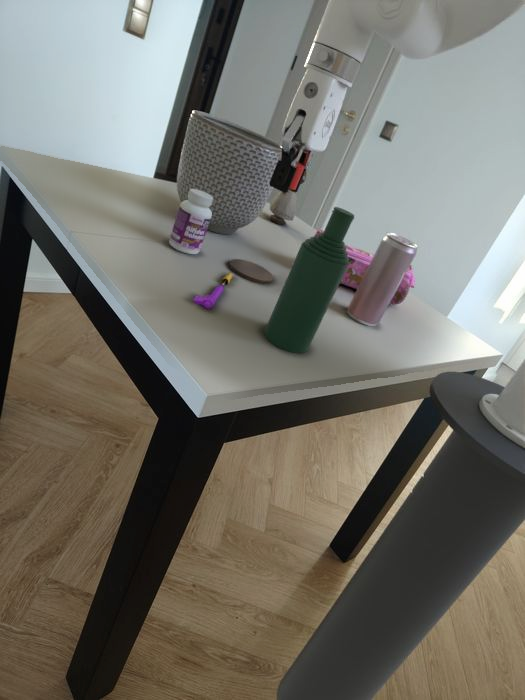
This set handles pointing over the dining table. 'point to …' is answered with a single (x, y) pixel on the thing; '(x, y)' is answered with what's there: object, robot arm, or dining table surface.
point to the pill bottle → (192, 222)
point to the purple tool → (211, 299)
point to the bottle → (310, 286)
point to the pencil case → (359, 266)
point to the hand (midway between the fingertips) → (283, 187)
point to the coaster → (251, 271)
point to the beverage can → (382, 279)
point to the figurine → (284, 206)
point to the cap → (297, 176)
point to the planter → (227, 169)
